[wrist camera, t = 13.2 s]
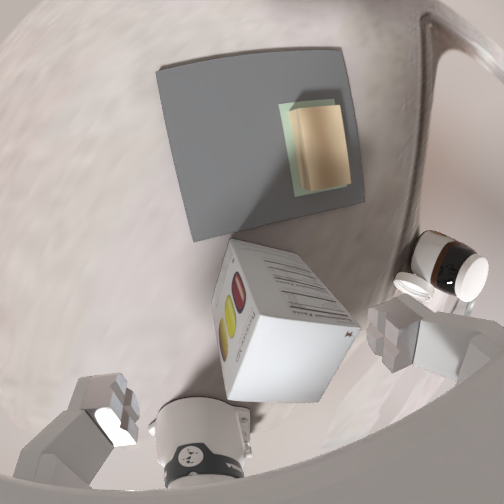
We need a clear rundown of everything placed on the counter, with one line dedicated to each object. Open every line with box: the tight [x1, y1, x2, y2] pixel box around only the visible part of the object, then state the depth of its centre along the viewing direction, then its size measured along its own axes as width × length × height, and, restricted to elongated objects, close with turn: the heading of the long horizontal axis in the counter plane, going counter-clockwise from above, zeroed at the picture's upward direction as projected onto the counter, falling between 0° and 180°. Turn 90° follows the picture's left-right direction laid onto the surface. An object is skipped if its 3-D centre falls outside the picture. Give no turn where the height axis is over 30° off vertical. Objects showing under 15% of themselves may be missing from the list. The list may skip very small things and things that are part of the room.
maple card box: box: [288, 105, 351, 191], centre depth 31 cm, size 5×9×3 cm, turn 11°
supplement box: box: [211, 238, 361, 403], centre depth 30 cm, size 10×9×17 cm
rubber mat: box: [156, 50, 365, 242], centre depth 31 cm, size 20×22×1 cm
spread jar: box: [393, 230, 489, 302], centre depth 37 cm, size 12×11×12 cm
